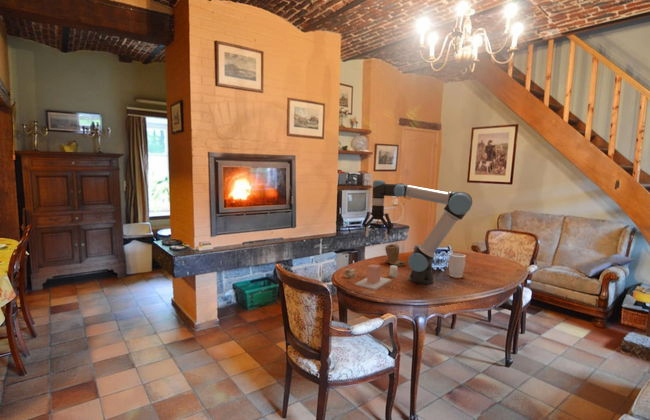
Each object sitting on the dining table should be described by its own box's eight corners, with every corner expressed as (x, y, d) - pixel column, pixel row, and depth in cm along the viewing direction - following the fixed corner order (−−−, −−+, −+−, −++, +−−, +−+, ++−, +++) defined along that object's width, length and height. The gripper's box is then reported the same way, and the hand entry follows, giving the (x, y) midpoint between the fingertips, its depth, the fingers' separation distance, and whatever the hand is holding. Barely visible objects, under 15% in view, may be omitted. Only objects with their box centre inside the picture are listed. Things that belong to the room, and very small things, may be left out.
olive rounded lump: (354, 276, 239) (355, 269, 239) (350, 278, 235) (351, 271, 235) (348, 275, 242) (348, 268, 241) (344, 277, 238) (344, 269, 237)
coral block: (380, 281, 228) (380, 265, 227) (375, 283, 223) (376, 267, 222) (371, 279, 232) (372, 264, 230) (367, 281, 227) (367, 266, 225)
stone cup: (381, 263, 275) (382, 243, 273) (392, 261, 282) (393, 242, 280) (395, 268, 263) (396, 247, 261) (407, 266, 269) (408, 246, 267)
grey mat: (391, 281, 233) (391, 279, 232) (375, 290, 215) (375, 288, 215) (371, 276, 241) (371, 275, 240) (354, 285, 223) (354, 283, 222)
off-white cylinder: (398, 276, 243) (398, 266, 242) (395, 278, 239) (395, 267, 238) (391, 274, 246) (391, 264, 245) (388, 276, 242) (388, 266, 241)
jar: (464, 275, 250) (466, 254, 248) (463, 279, 241) (465, 257, 239) (448, 273, 254) (450, 252, 252) (446, 277, 245) (448, 255, 243)
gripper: (399, 205, 226) (397, 239, 228) (362, 203, 238) (361, 234, 241) (394, 206, 219) (393, 241, 222) (357, 203, 232) (356, 236, 235)
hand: (376, 238), depth 231 cm, fingers open, 13 cm apart
